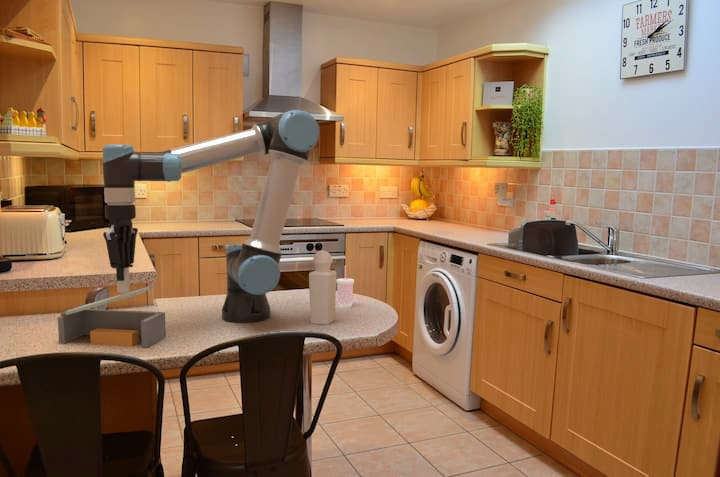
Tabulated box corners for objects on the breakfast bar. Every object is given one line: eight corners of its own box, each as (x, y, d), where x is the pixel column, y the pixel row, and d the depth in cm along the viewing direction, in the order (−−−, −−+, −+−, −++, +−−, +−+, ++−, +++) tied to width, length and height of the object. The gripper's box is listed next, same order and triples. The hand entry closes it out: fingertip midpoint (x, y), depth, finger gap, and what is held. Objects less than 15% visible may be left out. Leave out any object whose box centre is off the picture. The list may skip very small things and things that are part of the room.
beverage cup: (338, 303, 204) (338, 263, 203) (355, 304, 203) (356, 264, 201) (334, 307, 198) (334, 266, 197) (352, 308, 197) (352, 267, 195)
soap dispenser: (308, 323, 178) (308, 251, 175) (317, 318, 184) (317, 248, 181) (328, 325, 175) (328, 252, 173) (336, 320, 181) (336, 249, 179)
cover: (156, 288, 161) (154, 283, 161) (138, 295, 152) (136, 290, 152) (83, 309, 165) (81, 304, 165) (61, 317, 156) (60, 312, 156)
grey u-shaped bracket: (165, 336, 163) (165, 312, 162) (147, 347, 153) (146, 321, 152) (82, 332, 166) (80, 308, 166) (59, 343, 157) (57, 317, 156)
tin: (101, 308, 196) (100, 283, 195) (111, 308, 196) (110, 283, 195) (84, 319, 181) (82, 292, 180) (94, 319, 181) (93, 292, 180)
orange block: (138, 343, 157) (138, 330, 157) (132, 347, 154) (131, 333, 154) (98, 341, 160) (97, 328, 159) (90, 344, 156) (90, 331, 156)
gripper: (120, 202, 162) (123, 286, 164) (92, 205, 149) (96, 296, 152) (146, 202, 161) (148, 287, 163) (119, 205, 148) (123, 297, 151)
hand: (123, 291), depth 157 cm, fingers closed
